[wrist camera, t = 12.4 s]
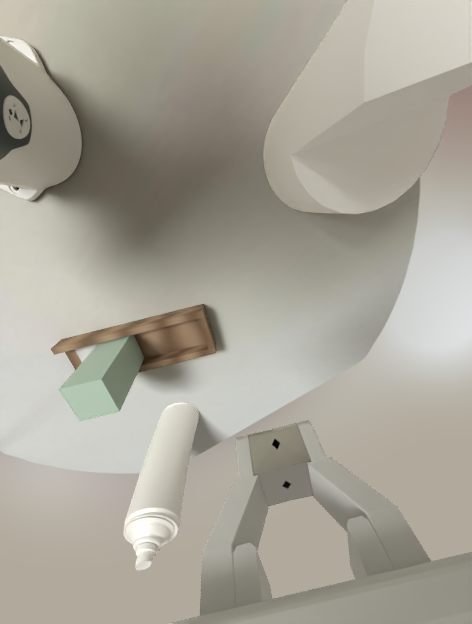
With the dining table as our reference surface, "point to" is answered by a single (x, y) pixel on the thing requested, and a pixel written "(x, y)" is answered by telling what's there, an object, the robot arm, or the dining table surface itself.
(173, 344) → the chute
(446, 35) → the cylinder
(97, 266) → the dining table surface
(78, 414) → the block
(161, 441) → the spray can
